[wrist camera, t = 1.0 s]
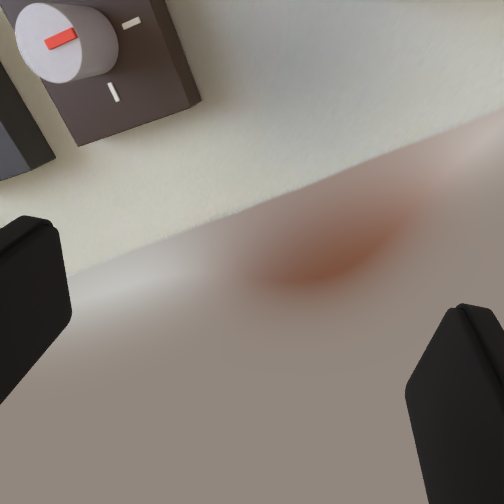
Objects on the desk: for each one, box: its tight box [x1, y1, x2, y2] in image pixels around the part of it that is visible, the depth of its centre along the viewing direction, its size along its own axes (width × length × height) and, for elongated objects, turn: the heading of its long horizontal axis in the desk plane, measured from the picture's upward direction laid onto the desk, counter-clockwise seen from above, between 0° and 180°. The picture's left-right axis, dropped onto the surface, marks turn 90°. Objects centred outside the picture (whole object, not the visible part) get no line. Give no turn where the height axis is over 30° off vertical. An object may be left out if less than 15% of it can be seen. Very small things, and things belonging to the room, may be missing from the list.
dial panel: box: [0, 0, 201, 147], centre depth 29 cm, size 13×11×3 cm
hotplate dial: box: [15, 3, 119, 83], centre depth 25 cm, size 4×4×5 cm
